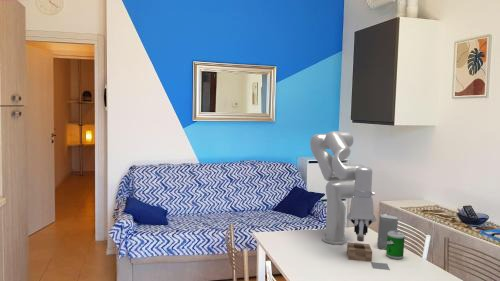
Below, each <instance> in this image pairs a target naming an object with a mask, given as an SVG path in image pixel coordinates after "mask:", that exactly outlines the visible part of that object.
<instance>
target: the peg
mask: <svg viewBox="0 0 500 281" xmlns="http://www.w3.org/2000/svg"><path fill="white" fill-rule="evenodd" d="M357 224H358V234H357V235H356V237H357V238H356V241H358V242H359V243H360V242H362V243H363V242H365V235H364V226H365V220H362V219H358V222H357Z"/></svg>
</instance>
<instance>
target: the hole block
mask: <svg viewBox="0 0 500 281" xmlns="http://www.w3.org/2000/svg"><path fill="white" fill-rule="evenodd" d="M346 244H347V245H346V254H347V257H348V260H349V261H357V262H369V263H371V262H373V249H372V247H371V244H370V243H360V242H359V243H358V242H348V241H347V243H346Z"/></svg>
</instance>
